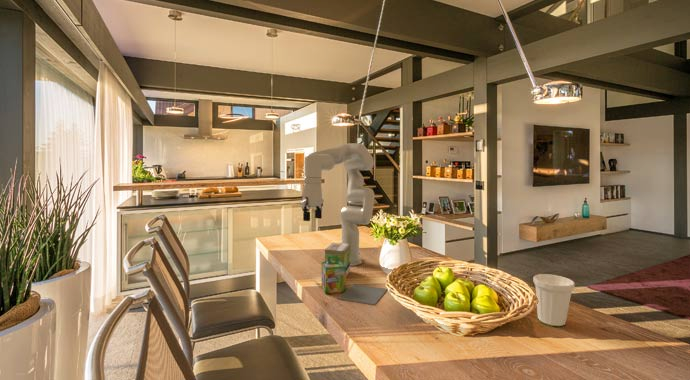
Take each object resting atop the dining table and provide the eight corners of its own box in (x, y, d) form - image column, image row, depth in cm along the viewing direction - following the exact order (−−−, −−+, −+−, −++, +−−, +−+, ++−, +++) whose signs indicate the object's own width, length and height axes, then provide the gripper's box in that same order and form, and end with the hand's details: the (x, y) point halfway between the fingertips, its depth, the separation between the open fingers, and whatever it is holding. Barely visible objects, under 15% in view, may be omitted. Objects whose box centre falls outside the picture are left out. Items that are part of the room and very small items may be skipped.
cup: (578, 331, 118) (581, 287, 116) (538, 328, 120) (541, 284, 118) (562, 315, 130) (565, 274, 128) (526, 312, 132) (528, 273, 131)
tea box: (344, 281, 166) (344, 250, 164) (323, 279, 168) (323, 249, 166) (350, 271, 180) (350, 243, 179) (331, 270, 182) (331, 242, 181)
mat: (353, 284, 161) (353, 283, 161) (387, 289, 155) (387, 288, 155) (337, 299, 145) (337, 298, 145) (374, 305, 139) (374, 304, 138)
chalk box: (325, 294, 150) (325, 260, 148) (320, 287, 158) (320, 254, 157) (346, 292, 152) (346, 258, 151) (340, 284, 161) (340, 253, 160)
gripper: (316, 180, 167) (315, 216, 168) (294, 181, 151) (294, 221, 152) (329, 181, 163) (329, 218, 164) (309, 182, 148) (309, 222, 149)
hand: (312, 219), depth 158 cm, fingers open, 9 cm apart
